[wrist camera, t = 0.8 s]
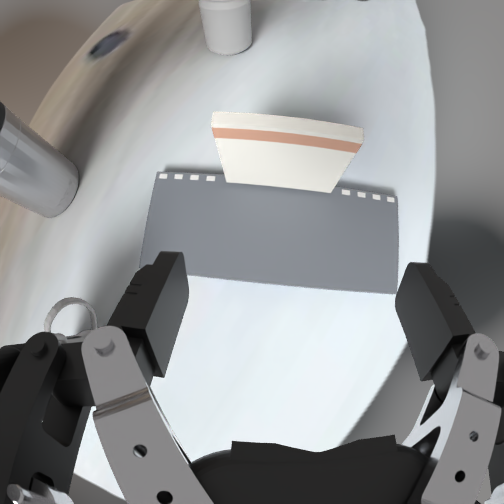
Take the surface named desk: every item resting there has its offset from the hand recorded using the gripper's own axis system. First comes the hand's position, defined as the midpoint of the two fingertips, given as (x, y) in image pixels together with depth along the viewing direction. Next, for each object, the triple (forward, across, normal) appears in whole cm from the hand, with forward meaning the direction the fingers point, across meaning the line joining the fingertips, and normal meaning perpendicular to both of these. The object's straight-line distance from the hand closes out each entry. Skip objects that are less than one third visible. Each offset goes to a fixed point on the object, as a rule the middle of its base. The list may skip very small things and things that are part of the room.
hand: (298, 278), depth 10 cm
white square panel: (+25, 0, +5) cm, 25 cm away
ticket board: (+22, 0, +11) cm, 24 cm away
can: (+44, +8, -13) cm, 46 cm away
